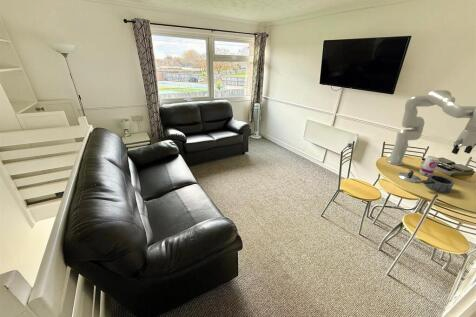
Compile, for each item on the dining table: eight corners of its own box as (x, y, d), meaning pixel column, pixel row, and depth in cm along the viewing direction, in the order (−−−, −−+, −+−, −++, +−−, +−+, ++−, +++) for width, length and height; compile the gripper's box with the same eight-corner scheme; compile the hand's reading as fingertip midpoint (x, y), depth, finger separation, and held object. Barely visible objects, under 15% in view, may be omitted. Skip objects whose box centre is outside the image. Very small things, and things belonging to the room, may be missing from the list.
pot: (412, 183, 158) (415, 175, 155) (438, 181, 161) (442, 174, 158) (429, 194, 146) (433, 186, 143) (457, 192, 148) (462, 184, 145)
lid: (393, 173, 172) (395, 167, 169) (409, 172, 173) (412, 166, 171) (408, 183, 158) (411, 176, 156) (425, 182, 160) (429, 175, 157)
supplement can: (433, 177, 167) (442, 160, 160) (422, 175, 169) (430, 159, 162) (427, 172, 174) (435, 156, 168) (416, 171, 176) (424, 155, 169)
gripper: (478, 126, 135) (465, 150, 142) (455, 127, 133) (443, 151, 140) (492, 130, 128) (477, 154, 136) (468, 131, 126) (455, 156, 134)
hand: (460, 153), depth 138 cm, fingers open, 9 cm apart
